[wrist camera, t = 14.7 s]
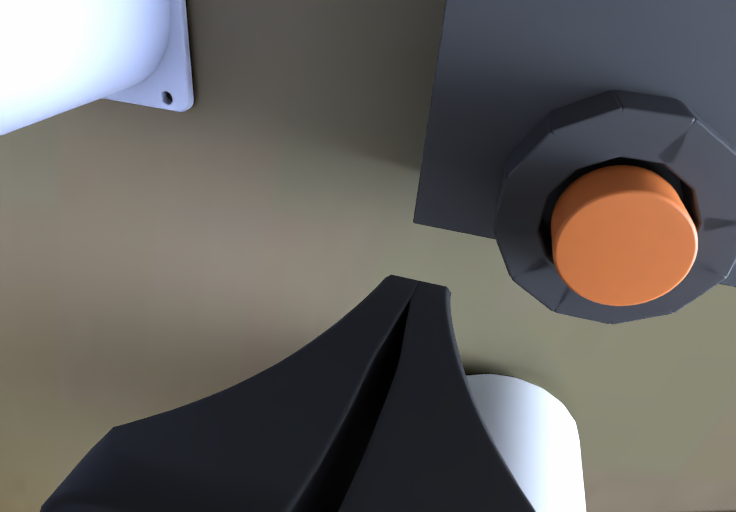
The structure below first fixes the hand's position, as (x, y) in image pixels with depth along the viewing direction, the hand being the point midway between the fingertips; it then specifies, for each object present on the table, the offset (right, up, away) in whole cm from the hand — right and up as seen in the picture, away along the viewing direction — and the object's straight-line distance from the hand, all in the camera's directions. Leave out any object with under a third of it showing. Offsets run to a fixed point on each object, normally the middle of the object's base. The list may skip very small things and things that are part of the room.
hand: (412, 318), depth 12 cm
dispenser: (+7, +7, +6) cm, 12 cm away
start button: (+6, +2, +3) cm, 7 cm away
